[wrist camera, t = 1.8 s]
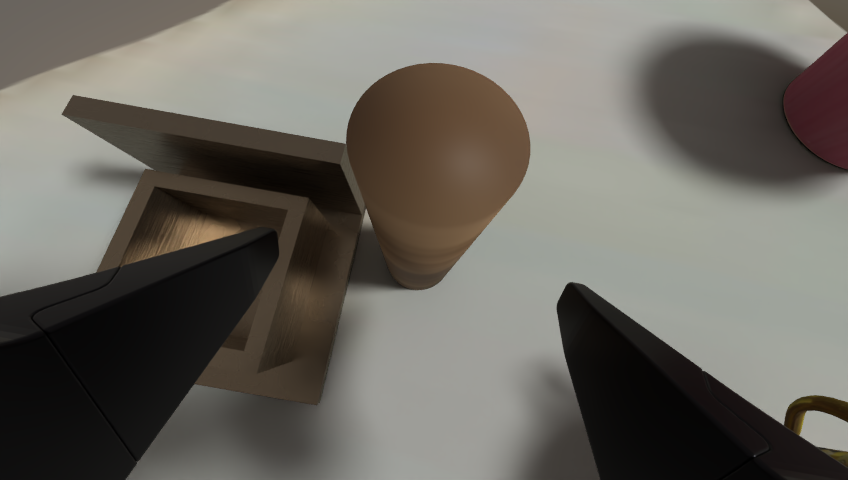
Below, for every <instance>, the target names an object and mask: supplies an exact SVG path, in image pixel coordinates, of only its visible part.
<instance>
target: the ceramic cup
mask: <svg viewBox="0 0 848 480" xmlns="http://www.w3.org/2000/svg"><path fill="white" fill-rule="evenodd" d="M812 410H815V411H820V412H825V413H828V414H831V415H833V416H836V417H838V418H840V419H842V420H844V421H846V422H848V402H845V401H842V400H838V399H835V398H831V397H825V396H817V395H814V396H806V397H801V398H799V399H797V400H795V401H794V402H793V403H792V404H790V405H789V407H788V409H787V412H786V416H785V422H784V426H785V427H787V428H788V429H790V430H791V431H793V432H795V433H796V434H798V435H800V432H801V429H802V425H803V420H804V416H805V413H806V411H812ZM817 448H819V449H820V450H822V451H823V452H825V453H826V454H828V455H829V456H831V457H832V458H834V459H835V460H837V461H838V462H840V463H842V464H843V465H845V466H846V467H848V452H846V451H840V450H833V449H827V448H821V447H817Z"/></svg>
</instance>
